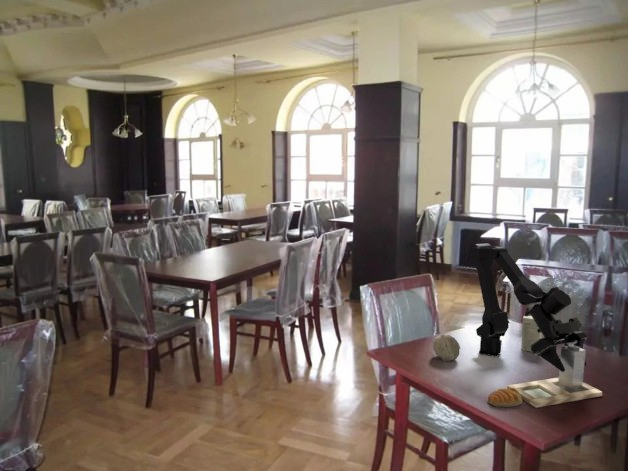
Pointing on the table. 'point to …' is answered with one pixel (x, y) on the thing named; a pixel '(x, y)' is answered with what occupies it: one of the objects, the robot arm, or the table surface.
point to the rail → (551, 392)
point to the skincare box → (529, 333)
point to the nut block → (572, 368)
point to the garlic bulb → (446, 347)
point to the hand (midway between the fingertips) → (574, 368)
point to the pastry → (505, 397)
